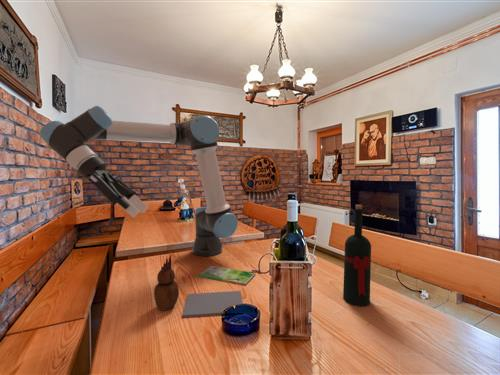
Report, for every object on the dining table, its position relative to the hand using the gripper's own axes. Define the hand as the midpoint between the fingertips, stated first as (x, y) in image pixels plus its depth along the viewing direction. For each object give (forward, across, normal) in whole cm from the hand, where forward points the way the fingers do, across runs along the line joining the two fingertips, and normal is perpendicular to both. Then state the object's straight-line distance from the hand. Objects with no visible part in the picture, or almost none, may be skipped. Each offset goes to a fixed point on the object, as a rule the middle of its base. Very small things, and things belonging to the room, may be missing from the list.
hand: (141, 212), depth 80 cm
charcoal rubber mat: (+36, +11, -2) cm, 38 cm away
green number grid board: (+40, -9, +1) cm, 41 cm away
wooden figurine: (+26, +11, -12) cm, 31 cm away
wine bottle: (+67, +15, +29) cm, 75 cm away
